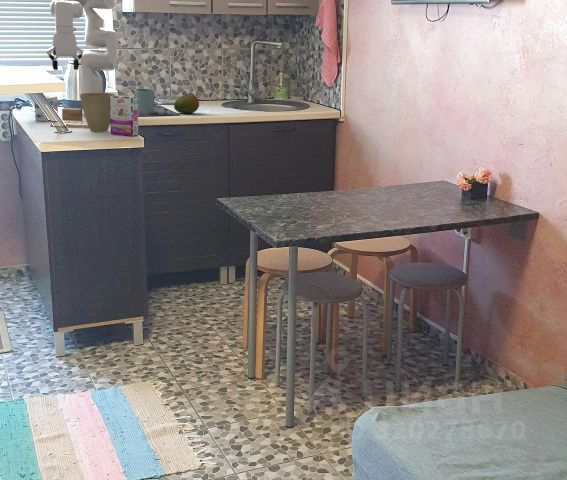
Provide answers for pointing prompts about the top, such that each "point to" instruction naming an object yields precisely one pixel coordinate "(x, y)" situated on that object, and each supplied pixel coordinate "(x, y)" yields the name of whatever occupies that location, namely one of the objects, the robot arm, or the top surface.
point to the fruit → (186, 104)
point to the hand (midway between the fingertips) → (65, 69)
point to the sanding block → (72, 114)
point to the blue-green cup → (145, 100)
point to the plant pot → (97, 110)
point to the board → (75, 124)
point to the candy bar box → (124, 115)
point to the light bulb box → (39, 113)
